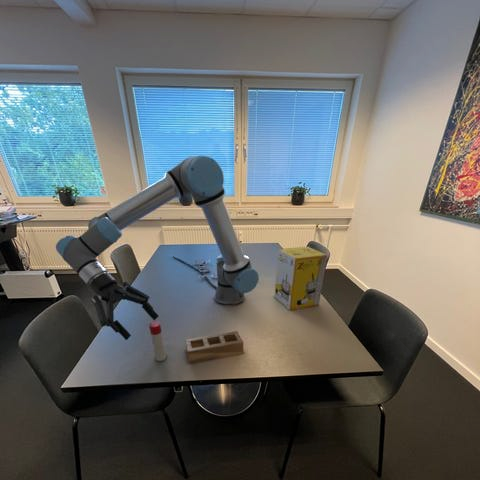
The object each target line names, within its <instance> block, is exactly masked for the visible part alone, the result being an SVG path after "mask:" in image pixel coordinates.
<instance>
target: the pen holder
mask: <svg viewBox="0 0 480 480" xmlns="http://www.w3.org/2000/svg"><path fill="white" fill-rule="evenodd" d="M184 342H185V349H186V354H187V358H188V363H189V364H193V363H198V362H204V361H209V360H214V359H220V358H224V357H231V356H235V355H241V354H244V340H243V338H242V336H241V335H240V333H239V331H237V330H235V331H230V332H223V333H218V334H217V333H216V334H211V335H205V336H199V337H192V338H187V339H184Z"/></svg>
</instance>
